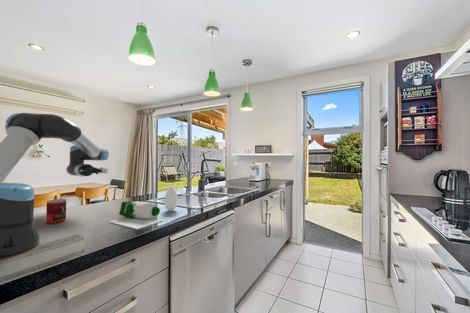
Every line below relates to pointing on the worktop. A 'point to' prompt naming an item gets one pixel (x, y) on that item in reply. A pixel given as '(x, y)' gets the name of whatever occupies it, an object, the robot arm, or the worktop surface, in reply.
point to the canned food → (56, 211)
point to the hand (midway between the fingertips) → (106, 171)
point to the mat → (135, 222)
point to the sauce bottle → (171, 199)
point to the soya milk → (139, 210)
